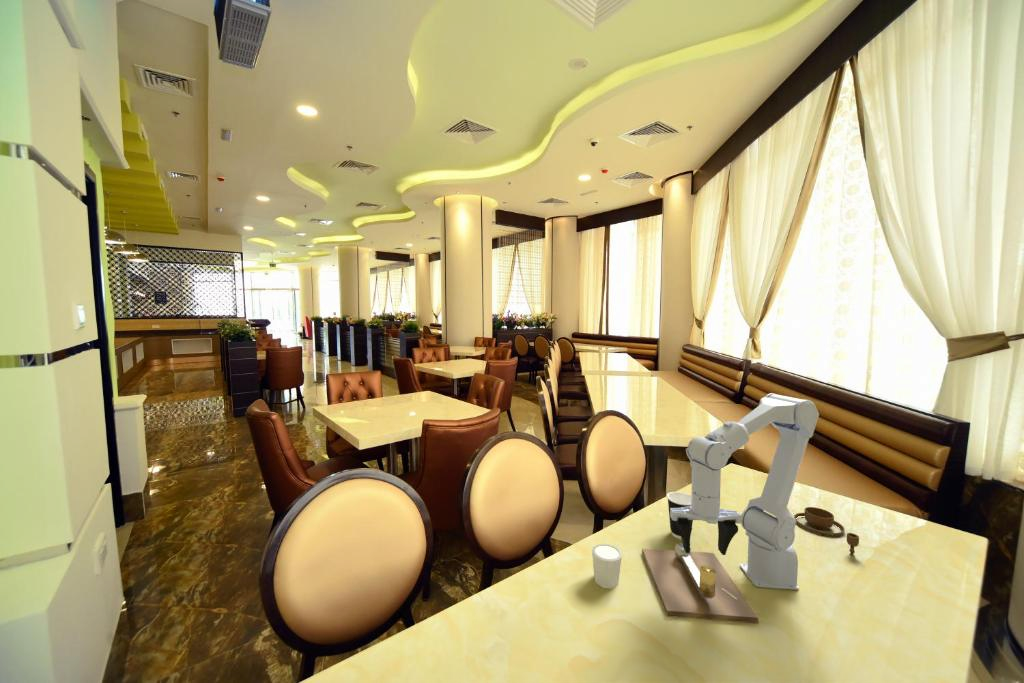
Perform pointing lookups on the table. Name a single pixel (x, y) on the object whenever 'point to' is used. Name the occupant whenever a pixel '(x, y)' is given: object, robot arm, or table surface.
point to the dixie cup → (677, 502)
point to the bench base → (684, 595)
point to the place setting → (826, 525)
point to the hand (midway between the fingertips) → (704, 551)
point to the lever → (697, 573)
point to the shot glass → (606, 565)
